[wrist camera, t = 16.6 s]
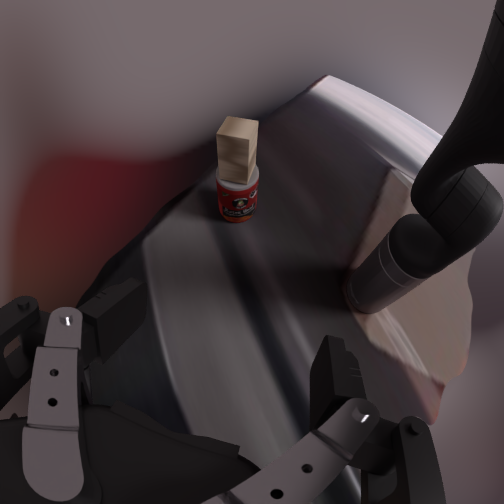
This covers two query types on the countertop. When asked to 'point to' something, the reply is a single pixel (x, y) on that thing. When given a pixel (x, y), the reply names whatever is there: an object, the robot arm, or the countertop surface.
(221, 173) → the oak block
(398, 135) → the countertop surface
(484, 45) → the robot arm
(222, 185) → the canned food
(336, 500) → the countertop surface
